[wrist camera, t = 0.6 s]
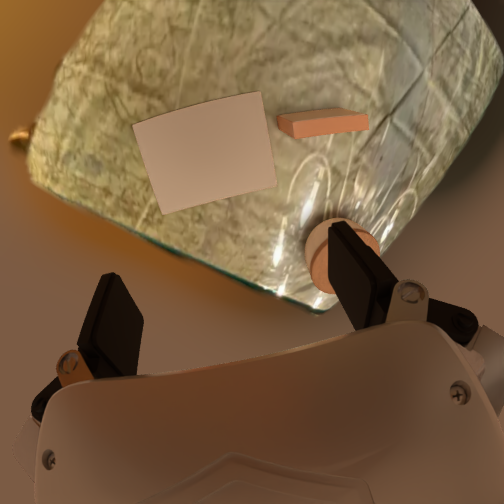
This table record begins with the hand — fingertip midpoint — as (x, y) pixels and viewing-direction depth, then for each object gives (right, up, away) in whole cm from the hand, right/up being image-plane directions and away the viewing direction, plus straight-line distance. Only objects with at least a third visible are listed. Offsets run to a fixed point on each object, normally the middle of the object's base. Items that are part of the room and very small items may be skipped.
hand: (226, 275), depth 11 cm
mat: (-5, +13, +21) cm, 25 cm away
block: (+9, +18, +20) cm, 28 cm away
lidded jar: (+13, +3, +31) cm, 34 cm away
